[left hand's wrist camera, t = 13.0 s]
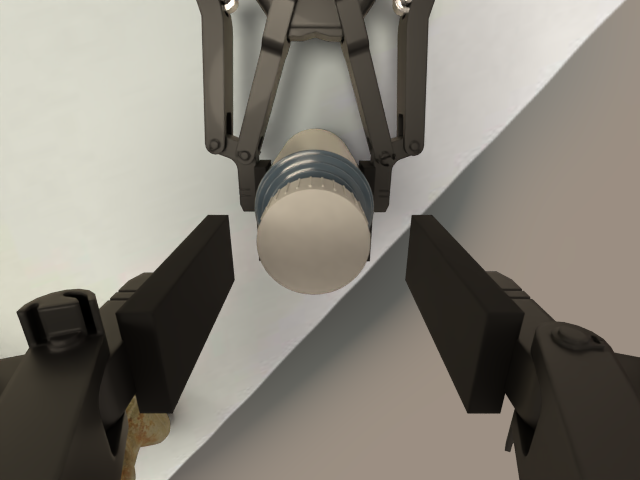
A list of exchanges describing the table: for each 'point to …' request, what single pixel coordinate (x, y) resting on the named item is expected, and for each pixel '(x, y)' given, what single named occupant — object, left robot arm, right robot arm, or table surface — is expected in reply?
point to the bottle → (315, 169)
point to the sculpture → (142, 435)
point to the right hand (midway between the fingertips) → (314, 252)
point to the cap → (313, 236)
